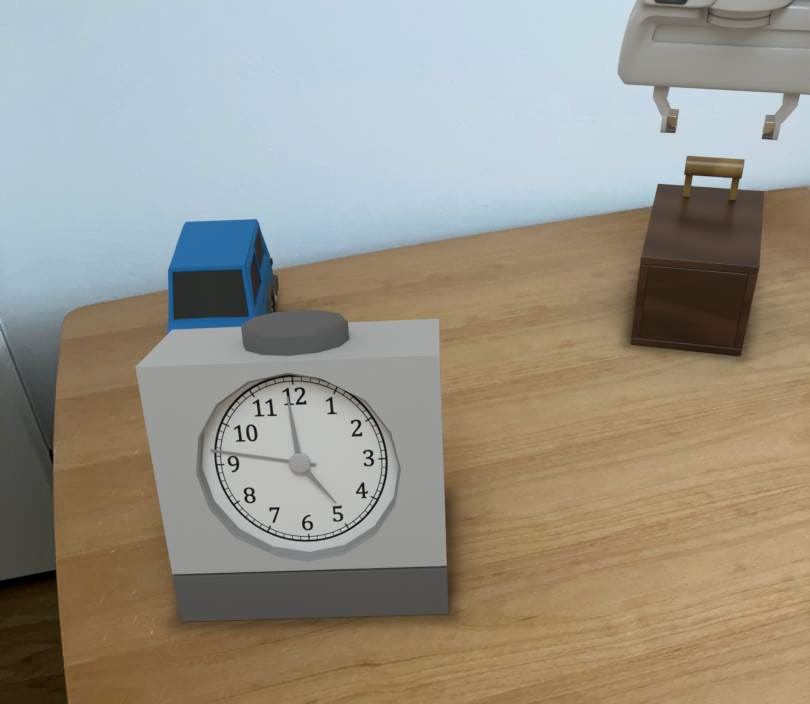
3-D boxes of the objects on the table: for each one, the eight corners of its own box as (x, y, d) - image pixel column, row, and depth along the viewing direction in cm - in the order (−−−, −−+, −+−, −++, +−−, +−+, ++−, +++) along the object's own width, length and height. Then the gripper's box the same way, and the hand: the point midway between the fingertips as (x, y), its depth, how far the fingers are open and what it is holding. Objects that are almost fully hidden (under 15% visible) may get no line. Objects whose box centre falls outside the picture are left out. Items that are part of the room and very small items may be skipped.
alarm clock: (180, 621, 77) (113, 408, 63) (211, 485, 88) (159, 278, 74) (448, 614, 76) (440, 395, 62) (444, 477, 88) (437, 266, 73)
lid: (656, 190, 105) (662, 144, 101) (763, 198, 102) (772, 151, 99) (640, 264, 94) (645, 216, 91) (757, 274, 92) (768, 225, 89)
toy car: (162, 407, 97) (138, 317, 90) (197, 302, 111) (178, 216, 104) (258, 405, 97) (241, 314, 90) (281, 299, 110) (267, 213, 103)
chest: (646, 271, 110) (656, 194, 104) (746, 280, 108) (762, 202, 102) (630, 344, 100) (639, 264, 94) (740, 356, 98) (757, 275, 92)
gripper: (871, -32, 87) (832, 128, 97) (632, -39, 92) (617, 114, 101) (875, -10, 83) (833, 155, 92) (623, -18, 87) (608, 140, 97)
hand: (718, 134), depth 97 cm, fingers open, 8 cm apart
